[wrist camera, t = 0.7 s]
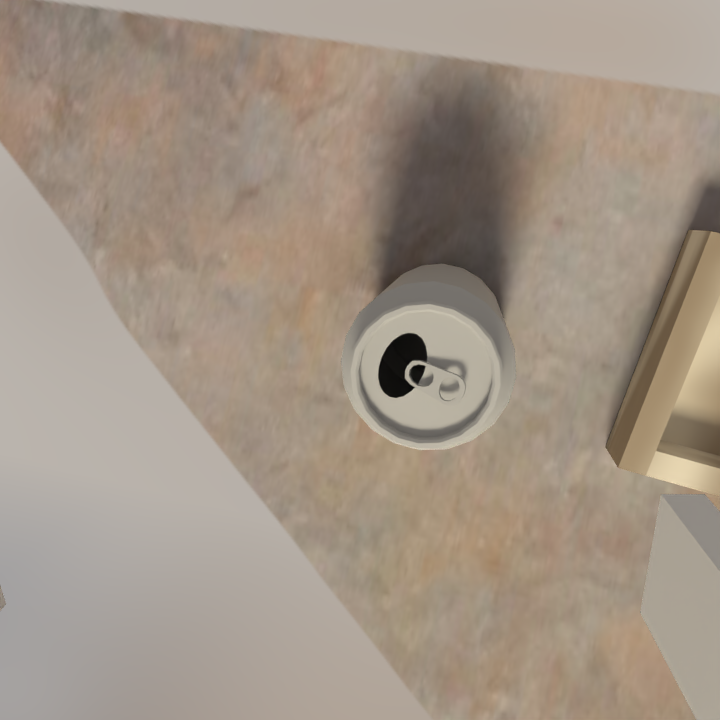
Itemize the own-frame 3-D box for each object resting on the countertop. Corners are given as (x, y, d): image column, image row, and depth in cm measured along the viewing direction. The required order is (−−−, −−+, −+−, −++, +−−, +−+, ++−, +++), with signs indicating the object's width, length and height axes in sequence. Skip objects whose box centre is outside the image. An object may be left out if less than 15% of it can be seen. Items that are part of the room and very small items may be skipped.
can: (403, 242, 34) (370, 256, 22) (523, 291, 33) (553, 330, 22) (358, 357, 36) (307, 423, 25) (470, 404, 35) (472, 494, 24)
